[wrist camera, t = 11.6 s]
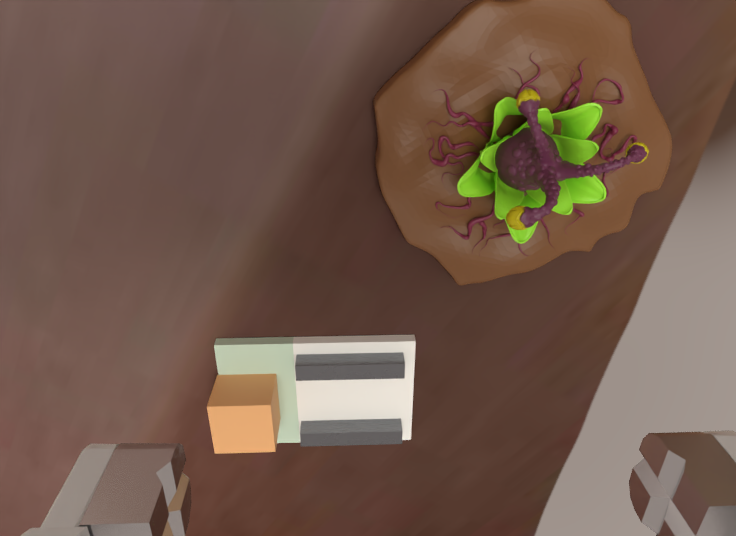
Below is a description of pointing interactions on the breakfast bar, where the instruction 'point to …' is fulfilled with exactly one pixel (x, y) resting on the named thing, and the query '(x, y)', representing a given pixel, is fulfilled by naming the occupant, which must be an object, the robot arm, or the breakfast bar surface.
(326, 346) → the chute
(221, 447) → the orange block
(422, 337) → the breakfast bar surface
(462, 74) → the plant
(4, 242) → the breakfast bar surface
